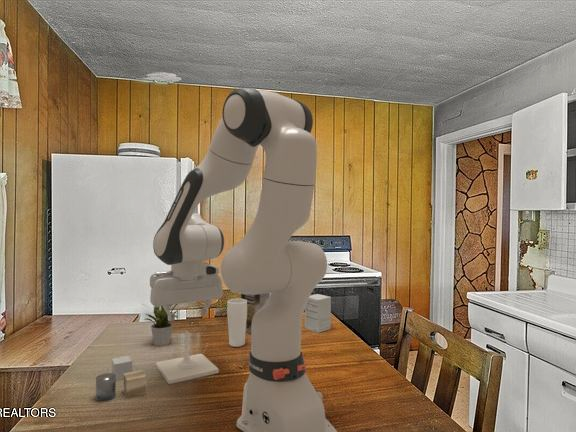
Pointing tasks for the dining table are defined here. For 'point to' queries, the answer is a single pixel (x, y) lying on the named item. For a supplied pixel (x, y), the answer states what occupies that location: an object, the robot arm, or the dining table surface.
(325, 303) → the supplement box
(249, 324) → the coffee box
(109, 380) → the metal tin
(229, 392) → the dining table surface
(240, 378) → the dining table surface
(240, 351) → the dining table surface
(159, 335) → the house plant
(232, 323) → the drinking glass
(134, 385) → the birch block
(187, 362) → the chess piece
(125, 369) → the grey block
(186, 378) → the ceramic tile
